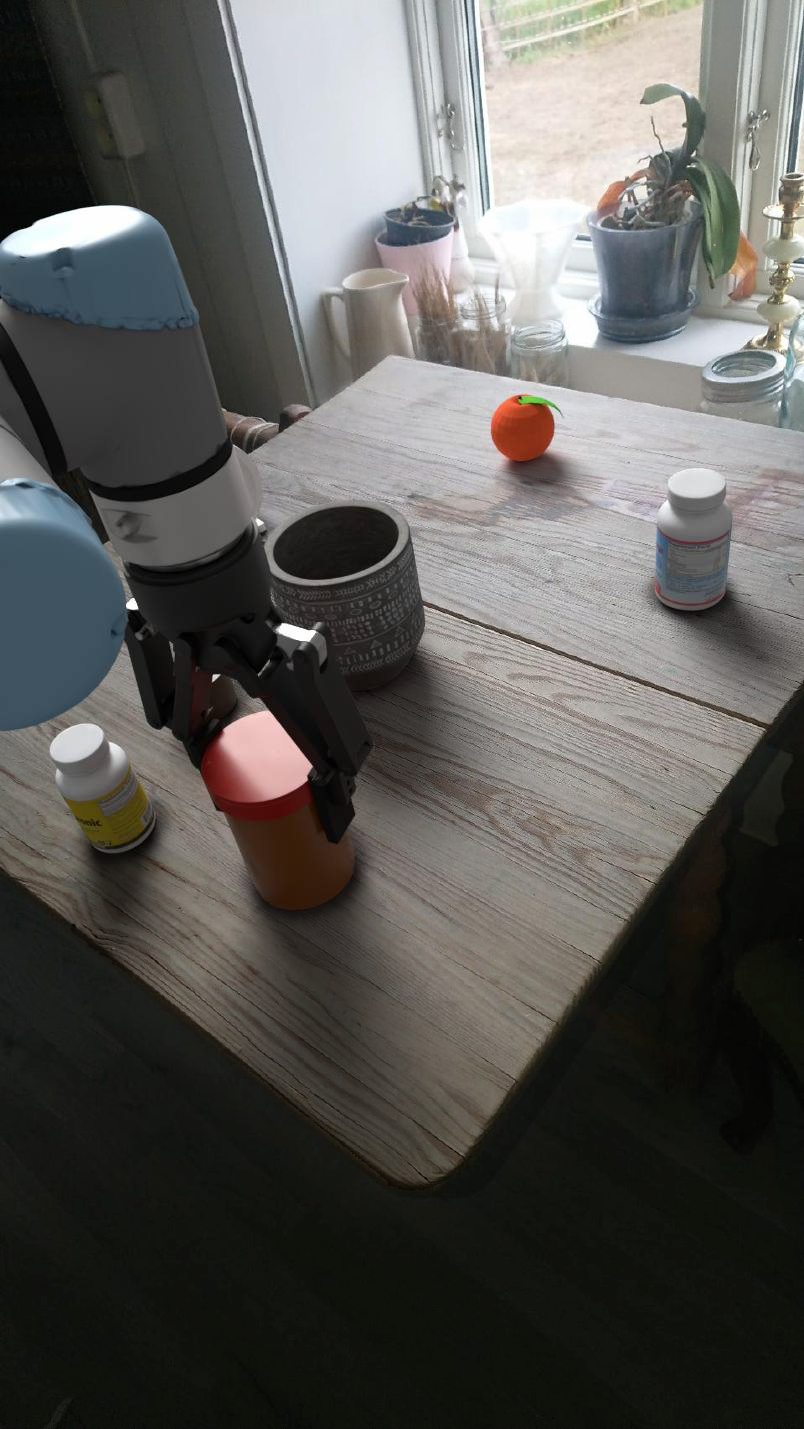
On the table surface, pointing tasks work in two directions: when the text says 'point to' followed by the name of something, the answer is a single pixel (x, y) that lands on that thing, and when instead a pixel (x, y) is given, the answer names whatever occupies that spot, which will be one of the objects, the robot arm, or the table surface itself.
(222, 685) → the stand
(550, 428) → the clementine
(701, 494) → the pill bottle
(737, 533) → the table surface
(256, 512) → the headphone stand
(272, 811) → the jam lid
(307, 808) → the jam jar
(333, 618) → the planter
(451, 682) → the table surface
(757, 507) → the table surface
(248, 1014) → the table surface
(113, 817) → the supplement bottle
